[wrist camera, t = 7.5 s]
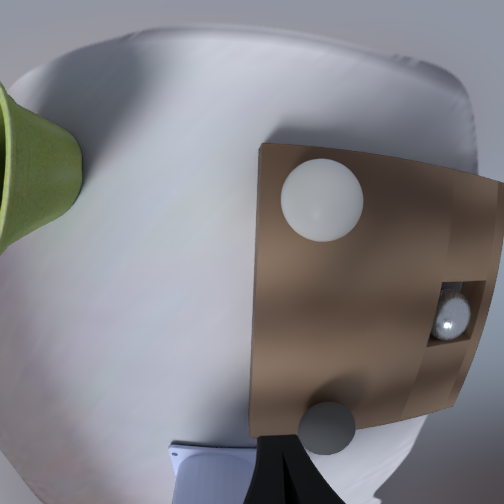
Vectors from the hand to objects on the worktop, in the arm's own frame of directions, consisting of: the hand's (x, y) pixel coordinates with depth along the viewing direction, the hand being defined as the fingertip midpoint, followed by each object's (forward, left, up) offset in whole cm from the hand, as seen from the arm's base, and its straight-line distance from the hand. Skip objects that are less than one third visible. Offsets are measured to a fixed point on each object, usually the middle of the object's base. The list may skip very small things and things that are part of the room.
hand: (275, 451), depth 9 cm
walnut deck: (+2, -8, -9) cm, 13 cm away
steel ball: (+2, -13, -8) cm, 15 cm away
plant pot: (+10, +14, -10) cm, 20 cm away
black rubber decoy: (-5, -4, -5) cm, 8 cm away
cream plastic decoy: (+8, -2, -5) cm, 10 cm away
